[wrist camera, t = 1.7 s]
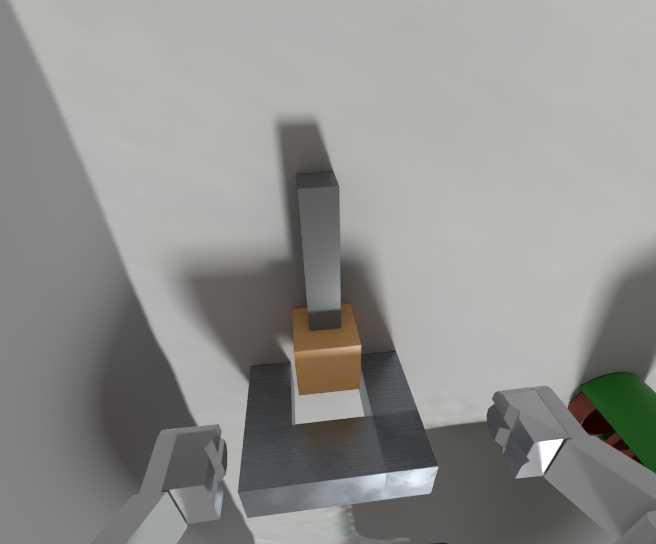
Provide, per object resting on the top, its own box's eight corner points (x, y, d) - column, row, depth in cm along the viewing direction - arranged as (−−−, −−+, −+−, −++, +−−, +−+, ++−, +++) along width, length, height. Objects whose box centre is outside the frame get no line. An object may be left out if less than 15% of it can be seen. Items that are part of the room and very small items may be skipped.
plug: (277, 174, 23) (275, 203, 19) (351, 169, 23) (366, 197, 19) (297, 349, 32) (299, 395, 28) (350, 344, 32) (360, 388, 28)
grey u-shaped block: (250, 366, 32) (238, 492, 23) (395, 351, 33) (438, 466, 24) (257, 393, 35) (247, 517, 25) (392, 378, 36) (430, 493, 26)
